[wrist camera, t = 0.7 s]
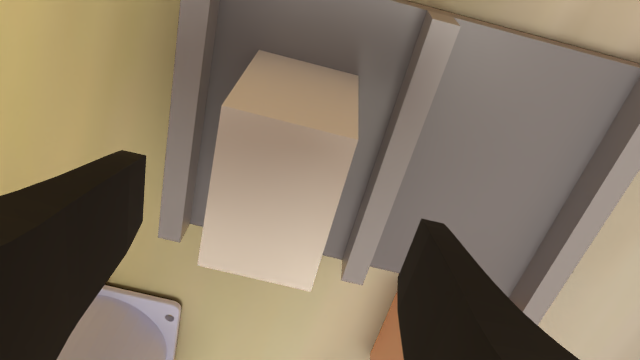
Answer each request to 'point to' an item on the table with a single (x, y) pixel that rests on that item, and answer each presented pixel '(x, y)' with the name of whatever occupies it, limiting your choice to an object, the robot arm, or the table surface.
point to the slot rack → (427, 132)
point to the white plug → (279, 170)
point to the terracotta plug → (389, 337)
